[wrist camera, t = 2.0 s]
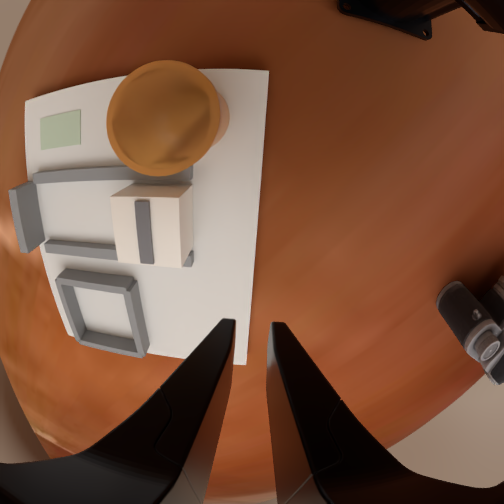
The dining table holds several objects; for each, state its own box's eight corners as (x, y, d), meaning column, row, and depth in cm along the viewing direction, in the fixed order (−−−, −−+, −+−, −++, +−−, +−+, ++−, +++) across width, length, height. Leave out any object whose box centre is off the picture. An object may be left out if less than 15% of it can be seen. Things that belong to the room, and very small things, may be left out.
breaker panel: (268, 74, 14) (270, 62, 11) (246, 355, 24) (244, 386, 21) (34, 100, 14) (4, 103, 11) (73, 327, 24) (57, 350, 21)
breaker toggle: (192, 184, 16) (177, 199, 13) (193, 245, 18) (180, 270, 15) (132, 183, 16) (108, 197, 13) (136, 241, 18) (116, 263, 15)
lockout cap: (237, 80, 13) (223, 57, 8) (232, 157, 16) (216, 178, 10) (159, 82, 13) (108, 68, 8) (156, 156, 16) (107, 177, 10)
